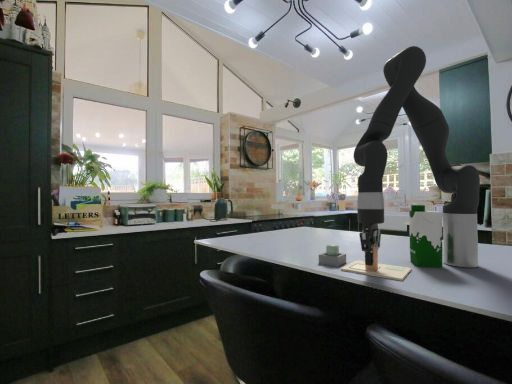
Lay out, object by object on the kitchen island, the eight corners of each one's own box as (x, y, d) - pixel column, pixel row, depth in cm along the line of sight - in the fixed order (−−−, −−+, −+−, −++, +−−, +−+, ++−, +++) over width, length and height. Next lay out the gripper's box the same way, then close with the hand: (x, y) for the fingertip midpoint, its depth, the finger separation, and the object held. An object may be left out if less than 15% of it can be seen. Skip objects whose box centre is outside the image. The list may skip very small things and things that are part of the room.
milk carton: (406, 260, 95) (405, 204, 95) (435, 262, 93) (433, 205, 94) (416, 267, 86) (415, 205, 87) (447, 268, 85) (446, 205, 85)
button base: (327, 259, 97) (327, 251, 97) (346, 262, 93) (346, 253, 93) (318, 263, 92) (318, 254, 92) (338, 266, 88) (338, 257, 88)
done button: (329, 255, 95) (329, 244, 96) (340, 256, 93) (340, 245, 93) (324, 257, 92) (324, 245, 92) (335, 259, 90) (335, 247, 90)
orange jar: (367, 266, 84) (366, 239, 84) (379, 268, 81) (379, 241, 82) (363, 268, 81) (362, 241, 81) (376, 270, 79) (375, 242, 79)
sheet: (356, 261, 94) (356, 260, 94) (411, 270, 83) (411, 267, 83) (341, 270, 83) (341, 268, 83) (402, 280, 72) (402, 278, 72)
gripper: (376, 208, 74) (377, 270, 73) (389, 206, 85) (390, 261, 84) (349, 207, 79) (350, 266, 78) (365, 206, 89) (366, 258, 89)
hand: (371, 263), depth 81 cm, fingers closed on orange jar, 3 cm apart
